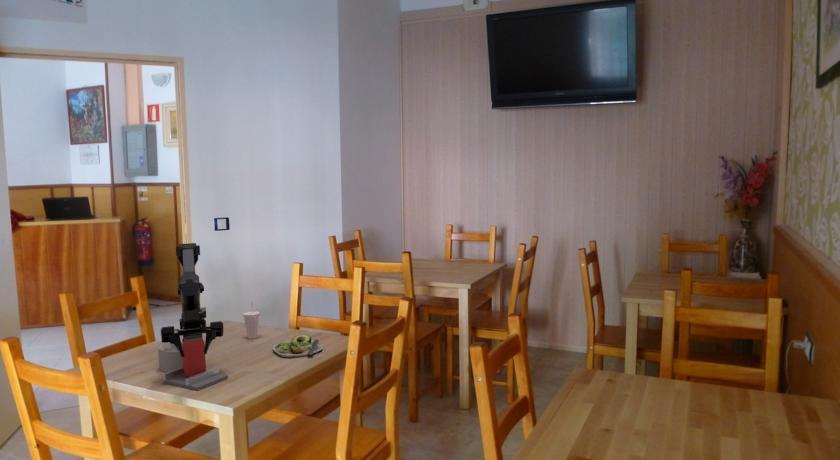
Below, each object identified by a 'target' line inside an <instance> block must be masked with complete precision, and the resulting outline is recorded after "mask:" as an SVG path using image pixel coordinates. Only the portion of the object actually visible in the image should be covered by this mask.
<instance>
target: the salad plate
mask: <svg viewBox="0 0 840 460" xmlns="http://www.w3.org/2000/svg"><path fill="white" fill-rule="evenodd" d="M319 341H320V340H319V339H313V340H312V336H311V335H310V334H308V333H302V334H301V333H300V334H298V335H295V336H293V337H292V338H291V340H290V341H288V342H283V341H282V342H281V343H277V344H274V345H273V346H272V352H273V353H275V354H277V355H278V356H280V357H282V358H288V359H289V358H290V359H292V358H293V359H294V358H295V359H296V358H301V357H302V356H303V357H308V355H309V356H312V355H314V353H315V354H316V353H319V352H320V351H322V350H323V345H321V344H319Z"/></svg>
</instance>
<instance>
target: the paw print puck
mask: <svg viewBox="0 0 840 460" xmlns="http://www.w3.org/2000/svg"><path fill="white" fill-rule="evenodd" d="M181 345H183V342H182V341H181ZM182 350H183V347H182ZM157 356H158V369H159V371H161V372H164V373H167V372H170V371H173V370H175V369H178V368H181V367H184V365H183V357H181V355H180V353H179V351H178V349H177V348H176V347H175V345H174V344H170V342H168V343H163V345H160V346H159V347H158V348H157Z"/></svg>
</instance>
